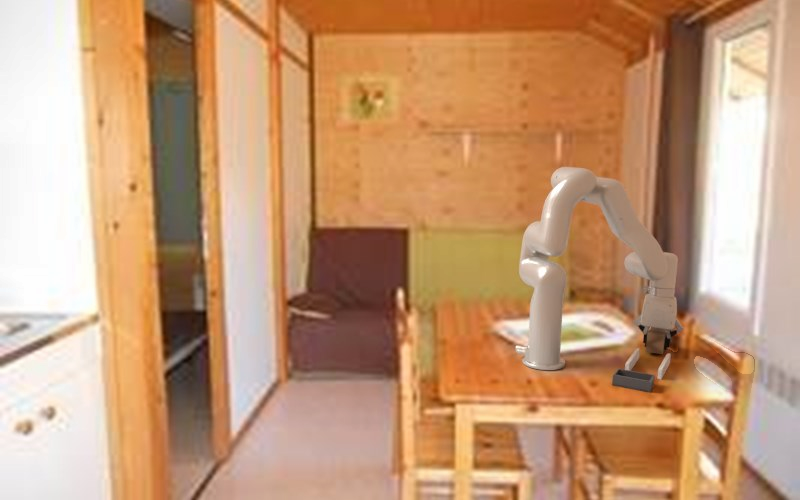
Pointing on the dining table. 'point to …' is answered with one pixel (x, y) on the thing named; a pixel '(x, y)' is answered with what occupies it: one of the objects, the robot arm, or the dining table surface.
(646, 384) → the bin
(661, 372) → the channel
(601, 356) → the dining table surface
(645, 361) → the dining table surface
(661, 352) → the walnut block
